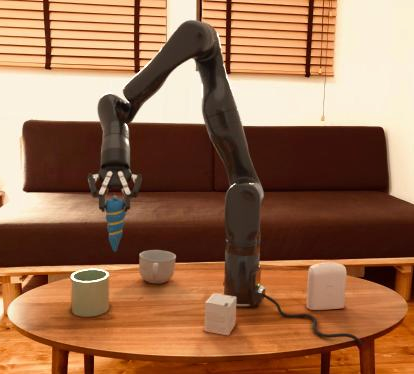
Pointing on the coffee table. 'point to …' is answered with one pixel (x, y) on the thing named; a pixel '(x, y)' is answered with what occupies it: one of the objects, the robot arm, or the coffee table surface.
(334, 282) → the photo printer
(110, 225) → the ornament
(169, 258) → the teacup
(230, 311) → the product carton
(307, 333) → the coffee table surface
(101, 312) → the green cup
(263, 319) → the coffee table surface
